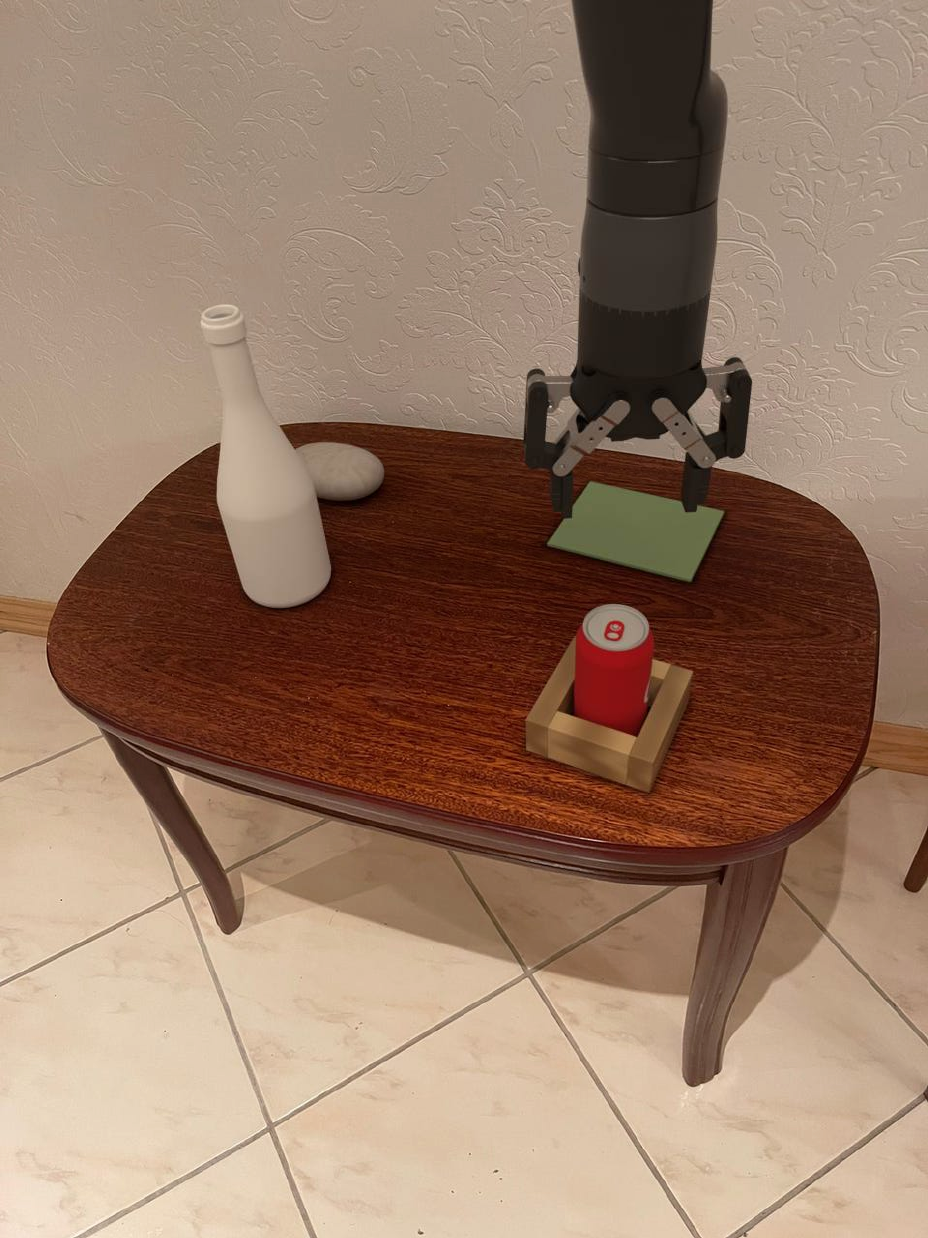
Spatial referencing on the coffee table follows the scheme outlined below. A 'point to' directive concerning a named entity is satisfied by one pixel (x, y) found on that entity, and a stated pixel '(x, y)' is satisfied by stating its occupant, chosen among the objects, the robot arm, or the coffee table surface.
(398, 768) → the coffee table surface
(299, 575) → the wine bottle
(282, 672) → the coffee table surface
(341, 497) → the decorative stone
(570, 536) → the pad
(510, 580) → the coffee table surface
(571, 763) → the stand
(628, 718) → the beverage can
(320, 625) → the coffee table surface
